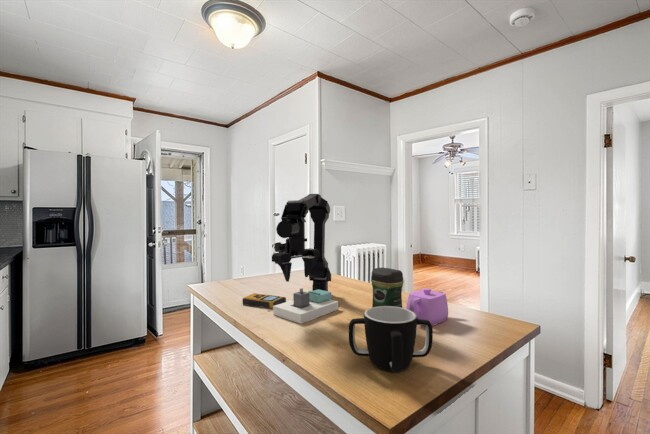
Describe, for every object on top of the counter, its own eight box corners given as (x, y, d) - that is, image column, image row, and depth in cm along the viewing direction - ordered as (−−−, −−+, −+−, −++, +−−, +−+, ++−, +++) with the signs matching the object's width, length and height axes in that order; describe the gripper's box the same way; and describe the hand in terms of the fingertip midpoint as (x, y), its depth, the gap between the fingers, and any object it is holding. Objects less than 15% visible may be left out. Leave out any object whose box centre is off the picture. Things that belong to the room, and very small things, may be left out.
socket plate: (310, 302, 124) (310, 294, 124) (338, 309, 115) (338, 301, 115) (273, 314, 110) (273, 305, 110) (300, 323, 101) (300, 314, 101)
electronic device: (254, 300, 130) (254, 292, 130) (286, 304, 124) (286, 295, 124) (241, 305, 123) (240, 297, 123) (274, 310, 116) (274, 301, 116)
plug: (301, 310, 114) (301, 286, 113) (309, 312, 111) (309, 288, 111) (293, 313, 111) (293, 288, 110) (301, 315, 108) (301, 290, 108)
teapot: (429, 309, 114) (429, 281, 114) (456, 317, 106) (456, 287, 106) (398, 321, 103) (398, 290, 103) (426, 330, 95) (426, 296, 95)
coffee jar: (408, 329, 95) (408, 268, 95) (391, 336, 91) (391, 272, 90) (383, 320, 103) (383, 264, 103) (367, 326, 98) (366, 267, 98)
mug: (440, 367, 73) (440, 315, 72) (392, 390, 63) (392, 331, 63) (388, 343, 86) (388, 299, 86) (342, 359, 77) (342, 311, 76)
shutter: (318, 295, 122) (318, 287, 122) (331, 298, 118) (331, 290, 118) (305, 299, 117) (305, 291, 117) (319, 302, 113) (319, 294, 113)
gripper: (300, 233, 124) (300, 272, 124) (261, 236, 110) (262, 280, 110) (320, 234, 116) (321, 276, 117) (282, 238, 103) (282, 285, 103)
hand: (297, 279), depth 112 cm, fingers open, 9 cm apart
